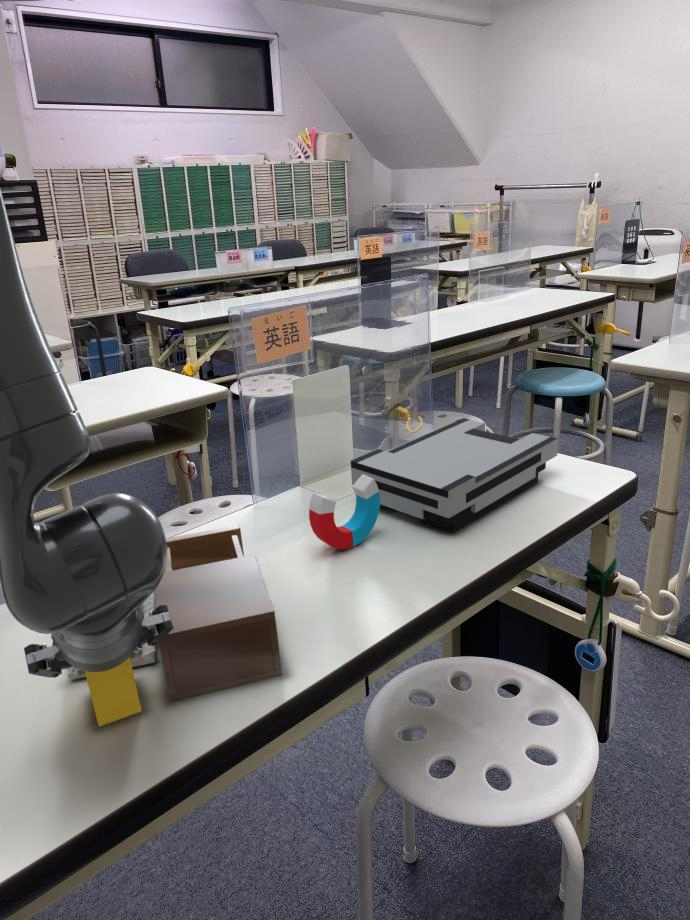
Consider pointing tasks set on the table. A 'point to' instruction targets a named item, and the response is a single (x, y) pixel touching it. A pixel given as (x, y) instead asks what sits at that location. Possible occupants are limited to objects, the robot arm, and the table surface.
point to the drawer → (204, 548)
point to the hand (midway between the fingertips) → (105, 657)
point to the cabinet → (217, 627)
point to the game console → (455, 472)
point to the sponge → (114, 693)
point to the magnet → (359, 522)
